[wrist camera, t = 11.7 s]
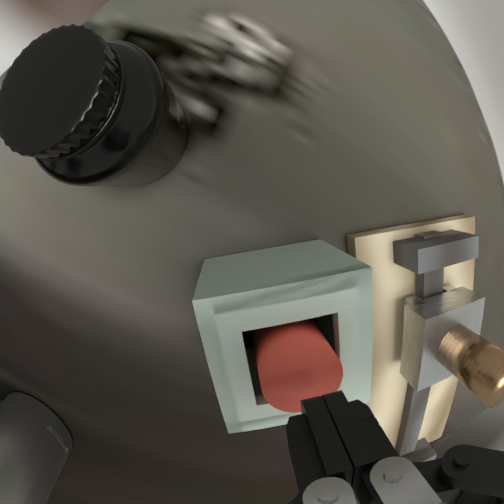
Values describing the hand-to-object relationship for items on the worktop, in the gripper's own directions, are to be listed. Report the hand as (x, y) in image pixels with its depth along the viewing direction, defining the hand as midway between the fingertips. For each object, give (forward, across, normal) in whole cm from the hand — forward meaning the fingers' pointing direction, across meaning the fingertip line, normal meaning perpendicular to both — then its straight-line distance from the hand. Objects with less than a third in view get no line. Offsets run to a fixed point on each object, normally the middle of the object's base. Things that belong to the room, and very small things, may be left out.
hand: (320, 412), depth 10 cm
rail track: (+12, -12, +9) cm, 19 cm away
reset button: (+6, 0, 0) cm, 6 cm away
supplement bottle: (+12, +7, -13) cm, 19 cm away
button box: (+12, 0, 0) cm, 12 cm away
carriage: (+10, -12, +4) cm, 16 cm away
